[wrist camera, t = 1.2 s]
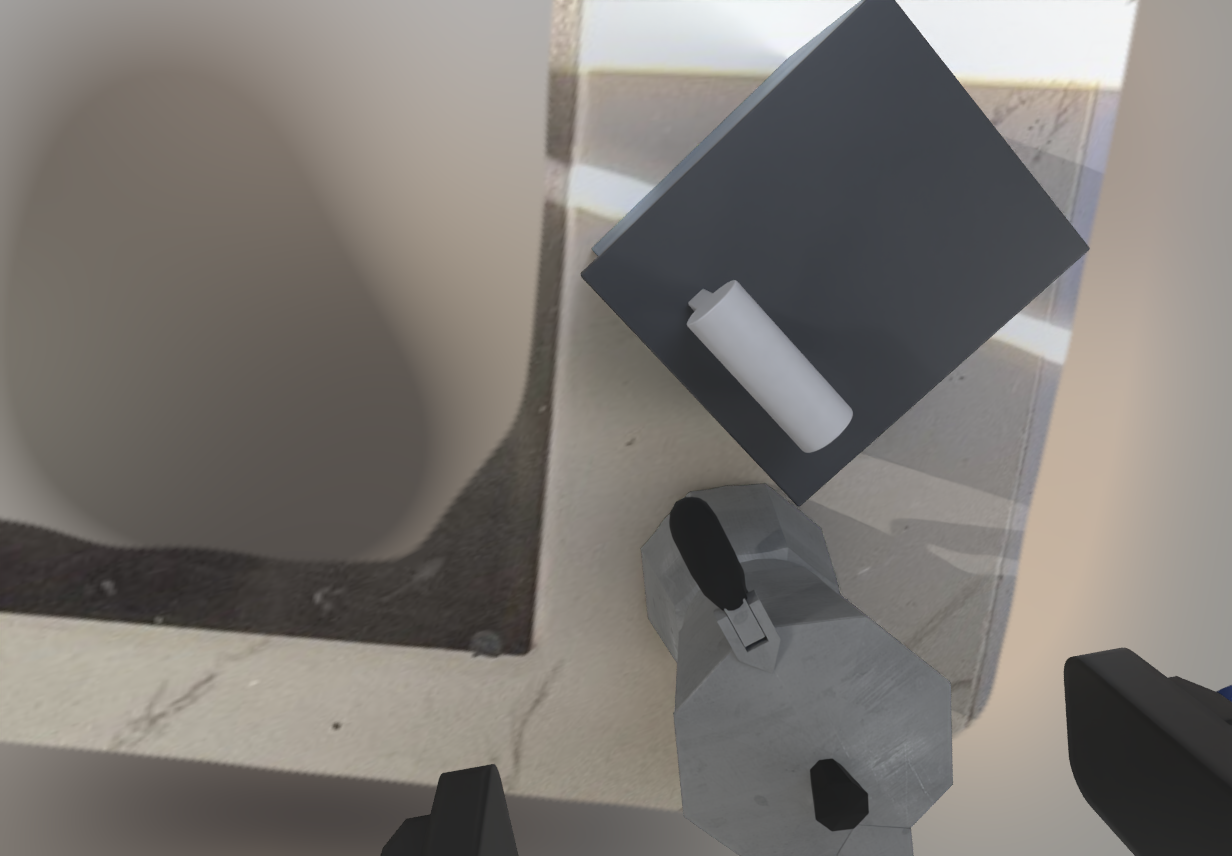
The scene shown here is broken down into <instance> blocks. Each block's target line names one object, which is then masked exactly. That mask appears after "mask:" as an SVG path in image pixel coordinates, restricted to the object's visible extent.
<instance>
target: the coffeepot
mask: <svg viewBox="0 0 1232 856" xmlns="http://www.w3.org/2000/svg"><path fill="white" fill-rule="evenodd" d="M641 554H642V564H643V574H644V584H645V594H646V603H647V613H648V619H649V621H650V622H651V624H652V625H653V627H654V628H655V630H656V631H657V633H658V634H659V636H660V638H661V639H662V641H663V642H664V644H665V645H666V647H667V648H668V650H669V652H670V653H671V655H672V656H673V658H674V659H675V661H676V662H677V677H676V695H675V712H674V713H673V714H674V724H675V734H676V745H677V755H678V765H679V775H680V786H681V796H682V806H683V815H684V817H685V818H686V819H688V820H689V821H690V822H692V823H693V824H695V825H696V826H698V827H699V828H700V829H702V830H703V831H705V832H706V833H708V834H709V835H710V836H712V837H713V838H715V839H716V840H718V841H719V842H720V843H722V844H723V845H725V846H726V847H728V848H729V849H731V850H732V851H733V852H735V853H736V854H738V855H739V856H914V855H913V846H912V835H911V827H912V826H913V825H914V824H915V823H916V822H917V821H918V820H919V819H920V818H921V817H922V816H923V814H925V813H926V811H928V809H929V808H930V807H931V806H932V805H933V804H934V803H935V802H936V801H937V800H938V799H939V798H940V797H941V796H942V795H943V794H944V793H945V792H946V791H947V790H948V789H949V788H950V787H951V786H952V785H953V777H952V776H953V774H952V772H953V771H952V719H951V683H950V681H949V680H948V679H946V678H945V677H944V676H942V675H941V674H940V673H939V672H937V671H936V670H935V669H934V668H932V667H931V666H930V665H928V664H927V663H926V662H925V661H923V660H922V659H921V658H920V657H918V656H917V655H916V654H915V653H913V652H912V651H911V650H909V649H908V648H907V647H906V646H904V645H903V644H902V643H901V642H899V641H898V640H897V639H896V638H894V637H893V636H892V635H891V634H889V633H888V632H887V631H885V630H884V629H883V628H882V627H880V626H879V625H878V624H877V623H875V622H874V621H873V620H872V619H870V618H869V617H868V616H867V615H865V614H864V613H863V612H862V611H860V610H859V609H858V608H857V607H855V606H854V605H853V604H852V603H850V602H849V601H848V600H847V599H845V598H844V597H843V596H842V595H840V591H839V585H838V582H837V579H836V575H835V572H834V569H833V566H832V562H831V559H830V556H829V552H828V549H827V546H826V542H825V539H824V536H823V532H822V529H821V528H820V527H819V526H818V525H817V524H815V523H814V522H813V521H812V520H810V519H809V518H808V517H807V516H805V515H804V514H803V513H802V512H801V511H799V510H798V509H797V508H796V507H795V506H793V505H792V504H791V503H789V502H788V501H787V500H785V499H784V498H783V497H782V496H780V495H779V494H778V493H777V492H775V491H774V490H773V489H772V488H770V487H769V486H768V485H767V484H765V483H763V484H753V485H741V486H723V487H718V488H713V489H709V490H701V491H692V492H689V493H688V494H687V495H686V496H685V498H683V499H681V500H679V501H677V502H676V504H675V505H674V507H673V509H672V510H671V512H670V514H668V515H667V516H666V517H665V518H664V520H663V521H662V523H661V524H660V526H659V527H658V528H657V530H656V531H655V533H654V534H653V535H652V536H651V537H650V539H649V540H648V541H647V542H646V543H645V544H644V546H643V547H642V548H641Z"/></svg>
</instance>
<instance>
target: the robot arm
mask: <svg viewBox="0 0 1232 856" xmlns="http://www.w3.org/2000/svg"><path fill="white" fill-rule="evenodd" d="M1064 686H1065V701H1066V717H1067V734H1068V750H1069V760H1070V765H1071V769H1072V772H1073V775H1074V778H1075V780H1076V783H1077V785H1078V787H1079V789H1080V791H1081V793H1082V795H1083V797H1084V798H1085V800H1086V801H1087V802H1088V804H1089V805H1090V806H1091V807H1092V808H1093V810H1095V812H1096V813H1097V814H1098V815H1099V816H1100V817H1101V818H1102V820H1103V821H1104V822H1105V823H1106V824H1107V825H1108V826H1109V827H1110V829H1111V830H1112V831H1113V832H1114V833H1115V834H1116V835H1117V836H1118V837H1119V838H1120V839H1121V841H1122V842H1123V843H1124V844H1125V845H1126V846H1127V847H1128V849H1129V850H1130V851H1131V852H1132V853H1133V854H1134V855H1135V856H1232V702H1231V701H1229V700H1228V699H1226V698H1225V697H1224V696H1222V695H1221V694H1219V693H1217V692H1215V691H1212V690H1210V689H1207V688H1205V687H1202V686H1200V685H1197V684H1195V683H1192V682H1190V681H1187V680H1185V679H1182V678H1180V677H1177V676H1175V677H1170V678H1167V677H1166V676H1165V675H1163V674H1162V673H1160V672H1159V671H1158V670H1156V669H1155V668H1154V667H1153V666H1151V665H1150V664H1149V663H1147V662H1146V661H1145V660H1143V659H1142V658H1141V657H1139V656H1138V655H1137V654H1135V653H1134V652H1133V651H1131V650H1129V649H1127V648H1118V649H1112V650H1106V651H1101V652H1096V653H1091V654H1085V655H1079V656H1074V657H1070V658H1069V659H1067V661H1066V663H1065V666H1064ZM381 856H518V852H517V848H516V843H515V839H514V835H513V831H512V826H511V822H510V818H509V813H508V809H507V804H506V800H505V795H504V791H503V787H502V782H501V778H500V775H499V771H498V769H497V767H496V765H495V764H491V765H485V766H480V767H474V768H469V769H464V770H458V771H453V772H447V773H442V774H441V776H440V778H439V781H438V786H437V790H436V794H435V798H434V802H433V806H432V810H431V814H430V815H425V816H420V817H414V818H409V819H406V820H405V821H404V822H403V824H402V825H401V826H400V827H399V829H398V830H397V831H396V833H395V834H394V835H393V836H392V837H391V839H390V840H389V841H388V842H387V844H386V845H385V846H384V847H383V850H382V853H381Z"/></svg>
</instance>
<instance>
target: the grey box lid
mask: <svg viewBox="0 0 1232 856" xmlns="http://www.w3.org/2000/svg"><path fill="white" fill-rule="evenodd" d="M1088 250H1089V247H1088V245H1087V244H1086V243H1085V242H1084V240H1083V239H1082V238H1081V237H1080V235H1079V234H1078V233H1077V231H1076V230H1075V229H1074V228H1073V226H1072V225H1071V224H1070V223H1069V221H1068V220H1067V219H1066V217H1065V216H1064V215H1063V214H1062V212H1061V211H1060V210H1059V209H1058V207H1057V206H1056V205H1055V203H1054V202H1053V201H1052V200H1051V198H1050V197H1049V196H1048V195H1047V193H1046V192H1045V191H1044V189H1043V188H1042V187H1041V186H1040V184H1039V183H1038V182H1037V181H1036V179H1035V178H1034V177H1033V175H1032V174H1031V173H1030V172H1029V170H1028V169H1027V168H1026V167H1025V165H1024V164H1023V163H1022V161H1021V160H1020V159H1019V158H1018V156H1017V155H1016V154H1015V153H1014V151H1013V150H1012V149H1011V147H1010V146H1009V145H1008V144H1007V142H1006V141H1005V140H1004V139H1003V137H1002V136H1001V135H1000V133H999V132H998V131H997V130H996V128H995V127H994V126H993V125H992V123H991V122H990V121H989V119H988V118H987V117H986V116H985V114H984V113H983V112H982V111H981V109H980V108H979V107H978V105H977V104H976V103H975V102H974V100H973V99H972V98H971V97H970V95H969V94H968V93H967V91H966V90H965V89H964V88H963V86H962V85H961V84H960V82H959V81H958V80H957V79H956V77H955V76H954V75H953V74H952V72H951V71H950V70H949V68H948V67H947V66H946V65H945V63H944V62H943V61H942V60H941V58H940V57H939V56H938V54H937V53H936V52H935V51H934V49H933V48H932V47H931V46H930V44H929V43H928V42H927V40H926V39H925V38H924V37H923V35H922V34H921V33H920V32H919V30H918V29H917V28H916V26H915V25H914V24H913V23H912V21H911V20H910V19H909V18H908V16H907V15H906V14H905V12H904V11H903V10H902V9H901V7H900V6H899V5H898V4H897V2H896V1H895V0H863V1H862V2H861V3H860V4H859V5H858V6H857V7H856V8H855V9H854V10H853V11H852V12H851V13H850V14H849V15H848V16H847V17H846V18H845V19H844V20H843V21H842V22H841V23H839V24H838V25H837V26H836V27H835V28H834V29H833V30H832V31H831V32H830V33H829V34H828V35H827V36H826V37H825V38H824V39H823V40H822V41H821V42H820V43H819V44H818V45H817V46H816V47H815V48H814V49H813V50H811V51H810V52H809V53H808V54H807V55H806V56H805V57H804V58H803V59H802V60H801V61H800V62H799V63H798V64H797V65H796V66H795V67H794V68H793V69H792V70H791V71H790V72H789V73H788V74H787V75H786V76H785V77H784V78H782V79H781V80H780V81H779V82H778V83H777V84H776V85H775V86H774V87H773V88H772V89H771V90H770V91H769V92H768V93H767V94H766V95H765V96H764V97H763V98H762V99H761V100H760V101H759V102H758V103H757V104H756V105H754V106H753V107H752V108H751V109H750V110H749V111H748V112H747V113H746V114H745V115H744V116H743V117H742V118H741V119H740V120H739V121H738V122H737V123H736V124H735V125H734V126H733V127H732V128H731V129H730V130H729V131H728V132H727V133H725V134H724V135H723V136H722V137H721V138H720V139H719V140H718V141H717V142H716V143H715V144H714V145H713V146H712V147H711V148H710V149H709V150H708V151H707V152H706V153H705V154H704V155H703V156H702V157H701V158H700V159H699V160H697V161H696V162H695V163H694V164H693V165H692V166H691V167H690V168H689V169H688V170H687V171H686V172H685V173H684V174H683V175H682V176H681V177H680V178H679V179H678V180H677V181H676V182H675V183H674V184H673V185H672V186H671V187H669V188H668V189H667V190H666V191H665V192H664V193H663V194H662V195H661V196H660V197H659V198H658V199H657V200H656V201H655V202H654V203H653V204H652V205H651V206H650V207H649V208H648V209H647V210H646V211H645V212H644V213H643V214H642V215H640V216H639V217H638V218H637V219H636V220H635V221H634V222H633V223H632V224H631V225H630V226H629V227H628V228H627V229H626V230H625V231H624V232H623V233H622V234H621V235H620V236H619V237H618V238H617V239H616V240H615V241H614V242H612V243H611V244H610V245H609V246H608V247H607V248H606V249H605V250H604V251H603V252H602V253H601V254H600V255H599V256H598V257H597V258H596V259H595V260H594V261H593V262H592V263H591V264H590V265H589V266H588V267H587V268H586V269H585V270H583V271H582V272H581V277H582V278H583V279H584V280H585V281H586V282H587V283H588V284H589V285H590V286H591V287H592V288H593V290H594V291H595V292H596V293H597V294H598V295H599V296H600V297H601V298H602V299H603V300H604V301H605V302H606V303H607V304H608V305H609V307H610V308H611V309H612V310H613V311H614V312H615V313H616V314H617V315H618V316H619V317H620V318H621V319H622V320H623V321H624V322H625V324H626V325H627V326H628V327H629V328H630V329H631V330H632V331H633V332H634V333H635V334H636V335H637V336H638V337H639V338H640V339H641V341H642V342H643V343H644V344H645V345H646V346H647V347H648V348H649V349H650V350H651V351H652V352H653V353H654V354H655V355H656V356H657V358H658V359H659V360H660V361H661V362H662V363H663V364H664V365H665V366H666V367H667V368H668V369H669V370H670V371H671V372H672V373H673V375H674V376H675V377H676V378H677V379H678V380H679V381H680V382H681V383H682V384H683V385H684V386H685V387H686V388H687V389H688V390H689V392H690V393H691V394H692V395H693V396H694V397H695V398H696V399H697V400H698V401H699V402H700V403H701V404H702V405H703V406H704V407H705V409H706V410H707V411H708V412H709V413H710V414H711V415H712V416H713V417H714V418H715V419H716V420H717V421H718V422H719V423H720V424H721V426H722V427H723V428H724V429H725V430H726V431H727V432H728V433H729V434H730V435H731V436H732V437H733V438H734V439H735V440H736V441H737V443H738V444H739V445H740V446H741V447H742V448H743V449H744V450H745V451H746V452H747V453H748V454H749V455H750V456H751V457H752V458H753V460H754V461H755V462H756V463H757V464H758V465H759V466H760V467H761V468H762V469H763V470H764V471H765V472H766V473H767V474H768V475H769V477H770V478H771V479H772V480H773V481H774V482H775V483H776V484H777V485H778V486H779V487H780V488H781V489H782V490H783V491H784V492H785V494H786V495H787V496H788V497H789V498H790V499H791V500H792V501H793V502H794V503H795V504H796V505H797V506H801V505H802V504H803V503H804V502H805V501H806V500H807V499H809V498H810V497H811V496H812V495H813V494H814V493H815V492H816V491H818V490H819V489H820V488H821V487H822V486H823V485H824V484H826V483H827V482H828V481H829V480H830V479H831V478H832V477H833V476H835V475H836V474H837V473H838V472H839V471H840V470H841V469H842V468H844V467H845V466H846V465H847V464H848V463H849V462H850V461H851V460H853V459H854V458H855V457H856V456H857V455H858V454H859V453H860V452H862V451H863V450H864V449H865V448H866V447H867V446H868V445H870V444H871V443H872V442H873V441H874V440H875V439H876V438H877V437H879V436H880V435H881V434H882V433H883V432H884V431H885V430H886V429H888V428H889V427H890V426H891V425H892V424H893V423H894V422H895V421H897V420H898V419H899V418H900V417H901V416H902V415H903V414H904V413H906V412H907V411H908V410H909V409H910V408H911V407H912V406H914V405H915V404H916V403H917V402H918V401H919V400H920V399H921V398H923V397H924V396H925V395H926V394H927V393H928V392H929V391H930V390H932V389H933V388H934V387H935V386H936V385H937V384H938V383H939V382H941V381H942V380H943V379H944V378H945V377H946V376H947V375H948V374H950V373H951V372H952V371H953V370H954V369H955V368H956V367H958V366H959V365H960V364H961V363H962V362H963V361H964V360H965V359H967V358H968V357H969V356H970V355H971V354H972V353H973V352H974V351H976V350H977V349H978V348H979V347H980V346H981V345H982V344H983V343H985V342H986V341H987V340H988V339H989V338H990V337H991V336H992V335H994V334H995V333H996V332H997V331H998V330H999V329H1000V328H1001V327H1003V326H1004V325H1005V324H1006V323H1007V322H1008V321H1009V320H1011V319H1012V318H1013V317H1014V316H1015V315H1016V314H1017V313H1018V312H1020V311H1021V310H1022V309H1023V308H1024V307H1025V306H1026V305H1027V304H1029V303H1030V302H1031V301H1032V300H1033V299H1034V298H1035V297H1036V296H1038V295H1039V294H1040V293H1041V292H1042V291H1043V290H1044V289H1045V288H1047V287H1048V286H1049V285H1050V284H1051V283H1052V282H1053V281H1055V280H1056V279H1057V278H1058V277H1059V276H1060V275H1061V274H1062V273H1064V272H1065V271H1066V270H1067V269H1068V268H1069V267H1070V266H1071V265H1073V264H1074V263H1075V262H1076V261H1077V260H1078V259H1079V258H1080V257H1082V256H1083V255H1084V254H1085V253H1086V252H1087V251H1088Z"/></svg>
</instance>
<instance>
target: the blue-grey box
mask: <svg viewBox="0 0 1232 856" xmlns="http://www.w3.org/2000/svg"><path fill="white" fill-rule="evenodd" d="M862 1H863V0H861V1H860V2H859V3H857V4H856V5H855V6H854V7H852V8H851V9H850V10H848V11H847V12H846V13H845V14H843V15H842V16H841V17H840V18H838V19H837V20H836V21H835V22H833V23H832V24H831V25H829V26H828V27H827V28H826V29H824V30H823V31H822V32H821V33H819V34H818V35H817V36H816V37H814V38H813V39H812V40H810V41H809V42H808V43H807V44H805V45H804V46H803V47H802V48H800V49H799V50H798V51H797V52H795V53H794V54H793V55H791V56H790V57H789V58H788V59H787V60H786V61H785V62H784V63H783V64H782V65H781V66H780V67H779V68H777V69H776V70H775V71H774V72H773V73H772V74H771V75H770V76H769V77H768V78H767V79H766V80H765V81H764V82H763V83H762V84H761V85H760V86H759V87H758V88H757V89H756V90H755V91H754V92H753V93H752V94H751V95H750V96H749V97H748V98H746V99H745V100H744V101H743V102H742V103H741V104H740V105H739V106H738V107H737V108H736V109H735V110H734V111H733V112H732V113H731V114H730V115H729V116H728V117H727V118H726V119H725V120H724V121H723V122H722V123H721V124H720V125H719V126H718V127H717V128H715V129H714V130H713V131H712V132H711V133H710V134H709V135H708V136H707V137H706V138H705V139H704V140H703V141H702V142H701V143H700V144H699V145H698V146H697V147H696V148H695V149H694V150H693V151H692V152H691V153H690V154H689V155H688V156H687V157H685V158H684V159H683V160H682V161H681V162H680V163H679V164H678V165H677V166H676V167H675V168H674V169H673V170H672V171H671V172H670V173H669V174H668V175H667V176H666V177H665V178H664V179H663V180H662V181H661V182H660V183H659V184H658V185H657V186H656V187H654V188H653V189H652V190H651V191H650V192H649V193H648V194H647V195H646V196H645V197H644V198H643V199H642V200H641V201H640V202H639V203H638V204H637V205H636V206H635V207H634V208H633V209H632V210H631V211H630V212H629V213H628V214H627V215H626V216H625V217H623V218H622V219H621V220H620V221H619V222H618V223H617V224H616V225H615V226H614V227H613V228H612V229H611V230H610V231H609V232H608V233H607V234H606V235H605V236H604V237H603V238H602V239H601V240H600V241H599V242H598V243H597V244H596V245H595V246H594V247H592V250H593V251H594V253H595V254H596V255H597V256H599V255H600V254H601V253H602V252H603V251H604V250H605V249H606V248H607V247H608V246H609V245H610V244H611V243H612V242H614V241H615V240H616V239H617V238H618V237H619V236H620V235H621V234H622V233H623V232H624V231H625V230H626V229H627V228H628V227H629V226H630V225H631V224H632V223H633V222H634V221H635V220H636V219H637V218H638V217H639V216H640V215H642V214H643V213H644V212H645V211H646V210H647V209H648V208H649V207H650V206H651V205H652V204H653V203H654V202H655V201H656V200H657V199H658V198H659V197H660V196H661V195H662V194H663V193H664V192H665V191H666V190H667V189H668V188H669V187H671V186H672V185H673V184H674V183H675V182H676V181H677V180H678V179H679V178H680V177H681V176H682V175H683V174H684V173H685V172H686V171H687V170H688V169H689V168H690V167H691V166H692V165H693V164H694V163H695V162H696V161H697V160H699V159H700V158H701V157H702V156H703V155H704V154H705V153H706V152H707V151H708V150H709V149H710V148H711V147H712V146H713V145H714V144H715V143H716V142H717V141H718V140H719V139H720V138H721V137H722V136H723V135H724V134H725V133H727V132H728V131H729V130H730V129H731V128H732V127H733V126H734V125H735V124H736V123H737V122H738V121H739V120H740V119H741V118H742V117H743V116H744V115H745V114H746V113H747V112H748V111H749V110H750V109H751V108H752V107H753V106H754V105H756V104H757V103H758V102H759V101H760V100H761V99H762V98H763V97H764V96H765V95H766V94H767V93H768V92H769V91H770V90H771V89H772V88H773V87H774V86H775V85H776V84H777V83H778V82H779V81H780V80H781V79H782V78H784V77H785V76H786V75H787V74H788V73H789V72H790V71H791V70H792V69H793V68H794V67H795V66H796V65H797V64H798V63H799V62H800V61H801V60H802V59H803V58H804V57H805V56H806V55H807V54H808V53H809V52H810V51H811V50H813V49H814V48H815V47H816V46H817V45H818V44H819V43H820V42H821V41H822V40H823V39H824V38H825V37H826V36H827V35H828V34H829V33H830V32H831V31H832V30H833V29H834V28H835V27H836V26H837V25H838V24H839V23H841V22H842V21H843V20H844V19H845V18H846V17H847V16H848V15H849V14H850V13H851V12H852V11H853V10H854V9H855V8H856V7H857V6H858V5H859V4H860V3H861V2H862Z"/></svg>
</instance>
